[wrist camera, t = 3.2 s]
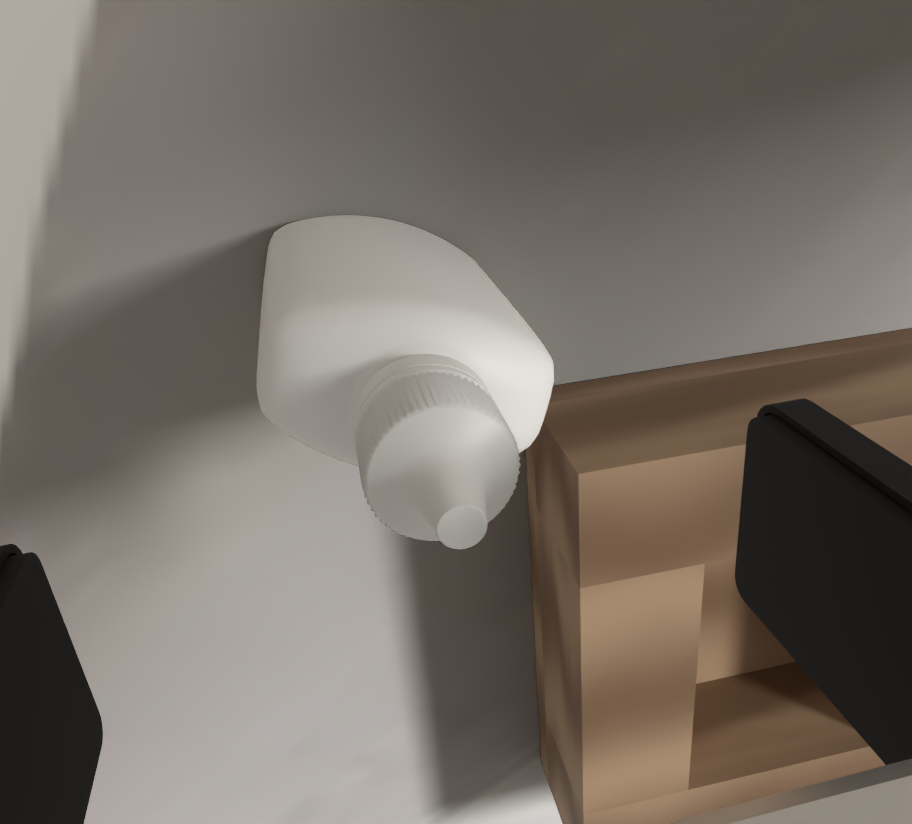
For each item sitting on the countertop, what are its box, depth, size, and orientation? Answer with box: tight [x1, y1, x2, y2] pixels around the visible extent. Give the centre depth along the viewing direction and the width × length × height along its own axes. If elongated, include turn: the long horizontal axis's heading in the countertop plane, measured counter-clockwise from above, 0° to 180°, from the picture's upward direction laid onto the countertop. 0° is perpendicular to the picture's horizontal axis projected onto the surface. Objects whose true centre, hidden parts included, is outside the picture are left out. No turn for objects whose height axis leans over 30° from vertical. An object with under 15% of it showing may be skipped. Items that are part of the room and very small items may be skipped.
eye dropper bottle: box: [257, 215, 554, 549], centre depth 16 cm, size 4×6×12 cm
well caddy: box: [526, 328, 912, 824], centre depth 26 cm, size 16×14×5 cm
